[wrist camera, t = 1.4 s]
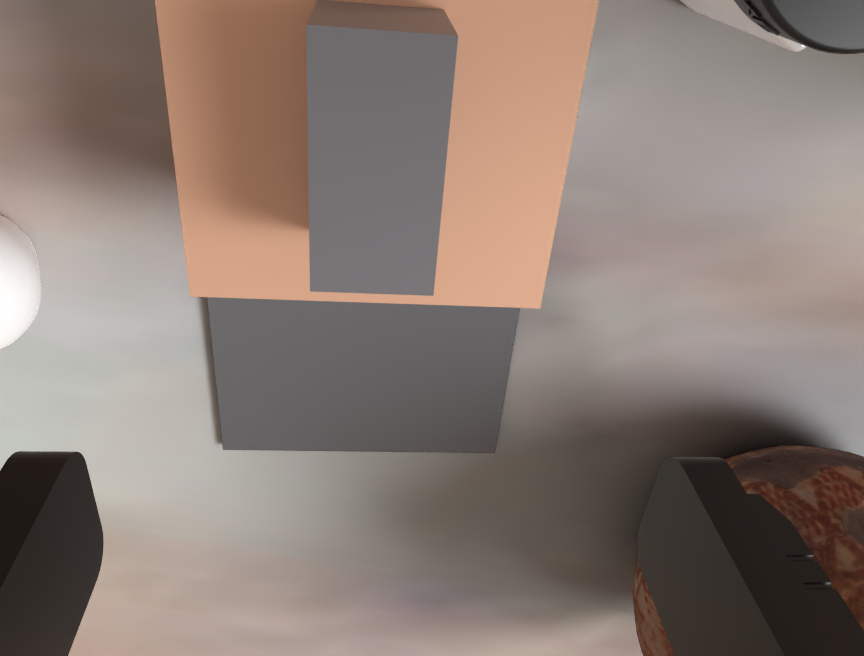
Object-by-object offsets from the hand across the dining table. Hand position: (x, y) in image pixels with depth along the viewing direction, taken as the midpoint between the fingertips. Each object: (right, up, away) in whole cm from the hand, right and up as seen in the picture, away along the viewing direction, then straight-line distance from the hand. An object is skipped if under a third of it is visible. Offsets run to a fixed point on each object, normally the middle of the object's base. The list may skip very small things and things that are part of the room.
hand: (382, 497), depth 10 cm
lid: (-1, +11, +16) cm, 20 cm away
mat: (-3, +1, +30) cm, 31 cm away
